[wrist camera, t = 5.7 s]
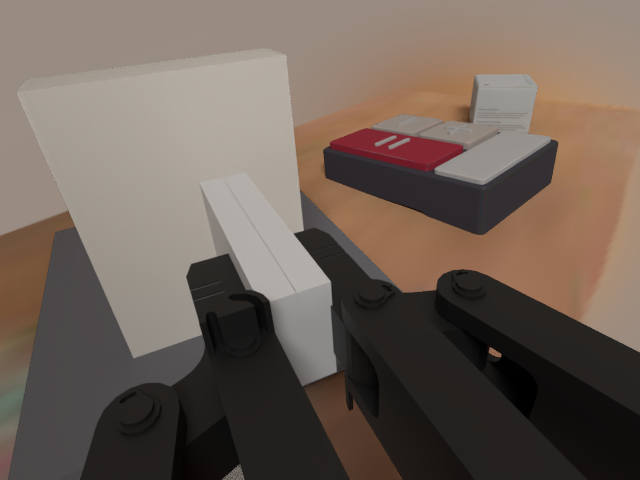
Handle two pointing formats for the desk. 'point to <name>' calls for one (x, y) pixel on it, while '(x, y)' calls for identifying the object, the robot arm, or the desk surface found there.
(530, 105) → the small box
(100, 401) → the tile mat
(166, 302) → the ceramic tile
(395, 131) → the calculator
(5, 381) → the desk surface
